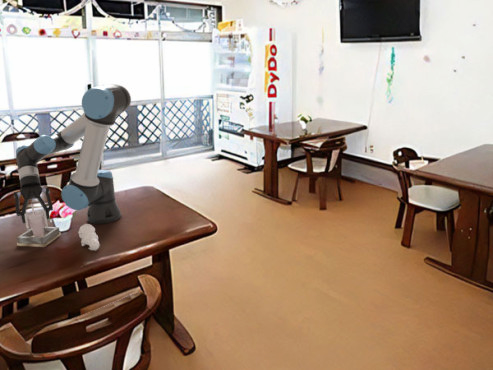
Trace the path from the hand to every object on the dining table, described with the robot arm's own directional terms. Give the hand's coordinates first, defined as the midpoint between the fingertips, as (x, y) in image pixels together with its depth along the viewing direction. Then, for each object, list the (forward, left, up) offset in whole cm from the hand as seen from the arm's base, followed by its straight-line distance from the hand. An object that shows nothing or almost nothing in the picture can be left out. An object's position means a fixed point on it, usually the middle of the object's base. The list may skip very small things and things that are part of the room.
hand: (37, 227), depth 170 cm
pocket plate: (+2, -3, -7) cm, 8 cm away
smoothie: (+2, -3, -5) cm, 6 cm away
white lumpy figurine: (-23, +1, -7) cm, 24 cm away
